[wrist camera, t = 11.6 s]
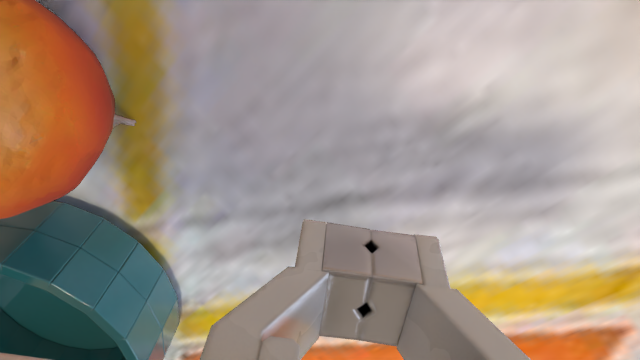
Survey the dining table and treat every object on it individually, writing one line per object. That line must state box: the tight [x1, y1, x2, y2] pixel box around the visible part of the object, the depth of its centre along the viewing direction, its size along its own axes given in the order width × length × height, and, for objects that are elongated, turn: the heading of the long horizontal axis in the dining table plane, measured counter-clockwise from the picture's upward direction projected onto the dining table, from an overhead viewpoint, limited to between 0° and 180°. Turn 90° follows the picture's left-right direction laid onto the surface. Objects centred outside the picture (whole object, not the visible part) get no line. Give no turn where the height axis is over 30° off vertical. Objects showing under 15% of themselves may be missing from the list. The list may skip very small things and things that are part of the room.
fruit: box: [0, 0, 136, 219], centre depth 17 cm, size 8×8×8 cm
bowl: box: [0, 201, 179, 360], centre depth 23 cm, size 12×12×5 cm
